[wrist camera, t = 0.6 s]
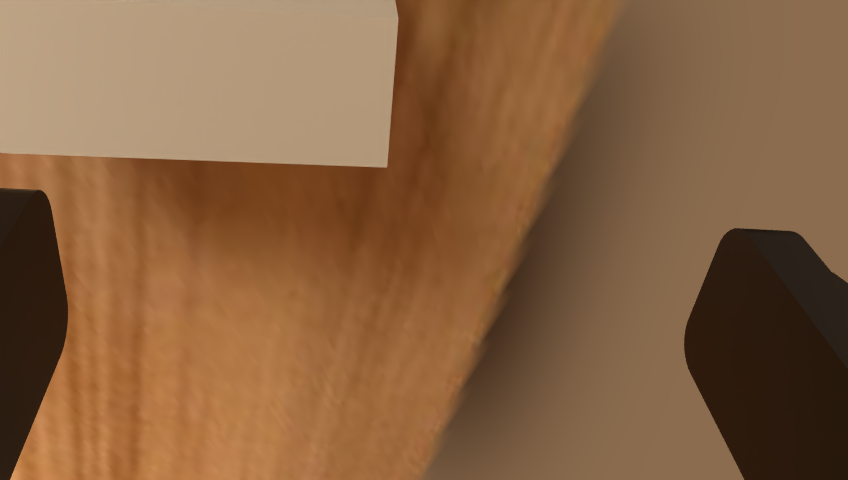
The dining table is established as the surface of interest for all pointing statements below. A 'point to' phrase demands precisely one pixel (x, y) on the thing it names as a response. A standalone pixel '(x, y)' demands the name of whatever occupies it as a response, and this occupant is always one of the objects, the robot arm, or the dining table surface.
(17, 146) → the white bridge block
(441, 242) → the dining table surface
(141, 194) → the dining table surface
